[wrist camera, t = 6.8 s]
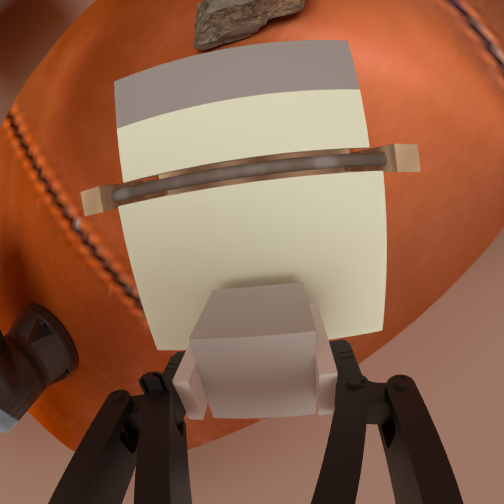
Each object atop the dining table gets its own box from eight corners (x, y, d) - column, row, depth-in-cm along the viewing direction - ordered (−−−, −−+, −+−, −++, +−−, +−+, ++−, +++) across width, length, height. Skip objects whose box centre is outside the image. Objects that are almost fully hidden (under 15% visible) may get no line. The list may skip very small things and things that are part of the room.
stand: (187, 329, 35) (150, 403, 22) (146, 112, 28) (73, 85, 14) (362, 312, 33) (402, 384, 19) (343, 83, 25) (390, 29, 12)
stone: (227, 360, 18) (213, 417, 13) (213, 289, 17) (188, 339, 12) (306, 354, 18) (315, 413, 12) (303, 281, 16) (315, 330, 11)
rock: (274, -53, 16) (336, -28, 15) (282, -20, 22) (335, 10, 22) (156, 9, 19) (200, 40, 18) (179, 39, 26) (222, 75, 25)
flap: (169, 329, 25) (157, 350, 21) (126, 94, 19) (105, 85, 15) (369, 310, 23) (382, 330, 19) (346, 58, 17) (357, 41, 14)
